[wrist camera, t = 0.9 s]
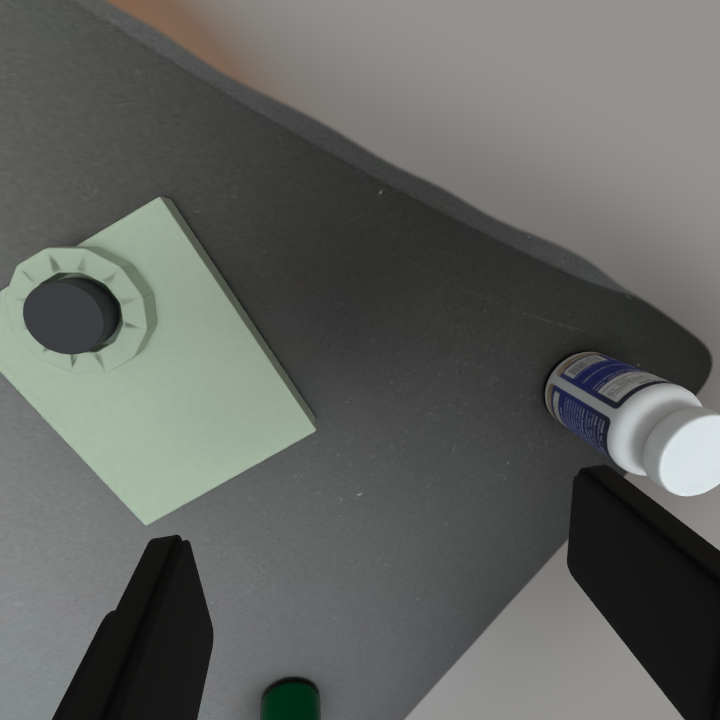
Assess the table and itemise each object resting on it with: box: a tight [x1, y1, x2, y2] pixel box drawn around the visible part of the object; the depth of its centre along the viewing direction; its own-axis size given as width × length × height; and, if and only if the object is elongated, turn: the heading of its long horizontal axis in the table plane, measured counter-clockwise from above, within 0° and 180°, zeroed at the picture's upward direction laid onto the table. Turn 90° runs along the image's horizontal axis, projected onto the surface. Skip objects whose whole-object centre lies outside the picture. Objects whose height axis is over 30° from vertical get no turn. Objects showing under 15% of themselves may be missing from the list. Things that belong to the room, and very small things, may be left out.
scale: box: [0, 197, 316, 526], centre depth 24 cm, size 16×13×4 cm
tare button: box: [23, 277, 119, 355], centre depth 21 cm, size 4×4×2 cm
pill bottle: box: [545, 352, 720, 496], centre depth 26 cm, size 6×6×10 cm
